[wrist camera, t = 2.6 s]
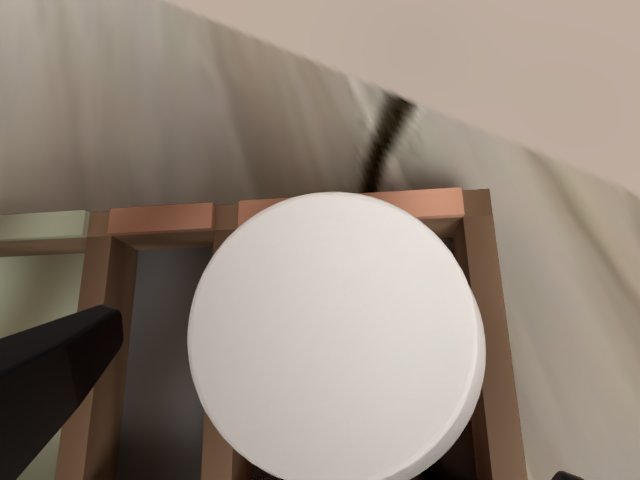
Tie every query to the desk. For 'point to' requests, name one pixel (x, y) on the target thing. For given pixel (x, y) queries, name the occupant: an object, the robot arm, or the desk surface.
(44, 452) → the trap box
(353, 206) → the pill bottle
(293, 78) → the desk surface
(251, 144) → the desk surface
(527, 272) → the desk surface
